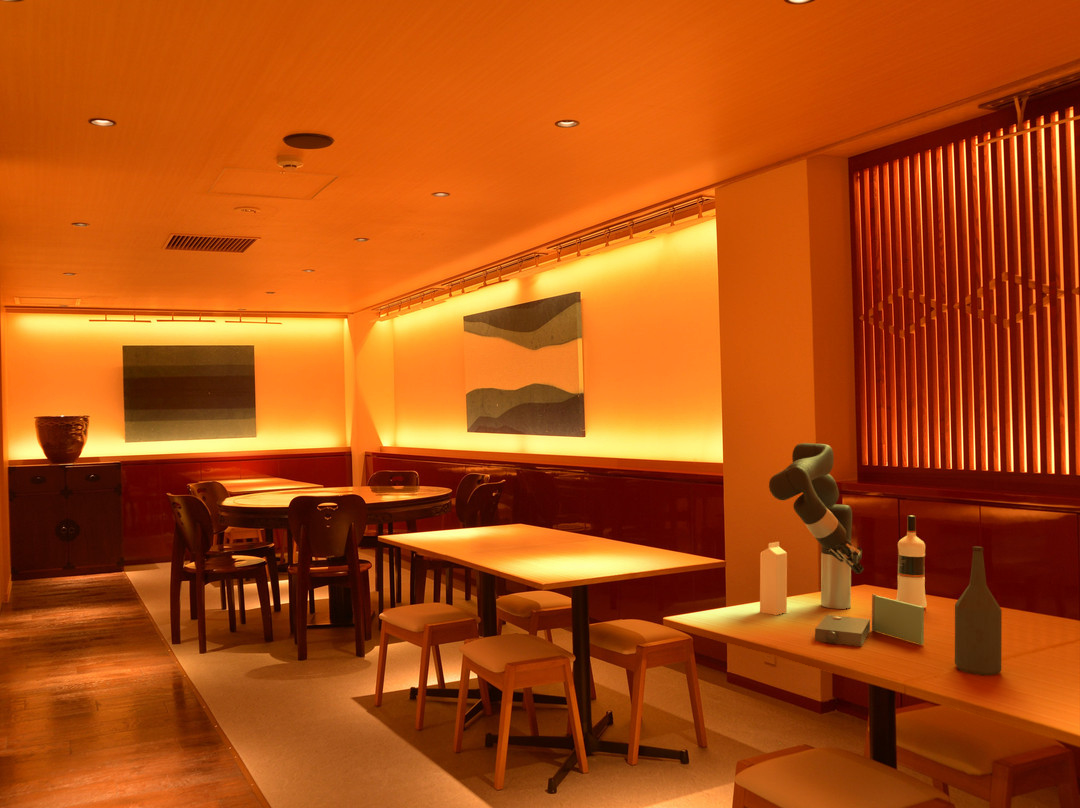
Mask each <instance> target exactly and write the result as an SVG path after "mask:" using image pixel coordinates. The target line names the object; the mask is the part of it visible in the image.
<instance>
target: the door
mask: <svg viewBox="0 0 1080 808" xmlns="http://www.w3.org/2000/svg"><path fill="white" fill-rule="evenodd" d="M924 624H925V609H924V607H921V606H917V605H913V604H909V603H905V602H901V601H897V600H896V599H892V598H889V597H884V596H879V595H877V594H875V593H873V594H872V595H871V631H872V630H874V631H873V632H878V633H880V634H883V633H884V635H888V636H890V635H891V637H894V638H897V637H898V639H900V638H901V640H904V641H907V640H908V641H907V642H910V641H911V643H914V642H915V643H914V644H917V643H918V645H922V644H923V645H924V643H925V639H924V638H925V636H924V635H925V625H924Z"/></svg>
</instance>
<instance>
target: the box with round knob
mask: <svg viewBox="0 0 1080 808" xmlns="http://www.w3.org/2000/svg"><path fill="white" fill-rule="evenodd" d="M814 630H815V631H814V640H815V642H817V641H821V642H820V643H825V642H828V643H827V644H834V643H836V644H835V645H842V644H845V645H844V646H851V645H855V646H854V647H859V646H863V645H864V643H865V641H866V640H867V638H868V636H869V634H870V632H871V619H869V618H863V617H851V616H845V615H844V616H842V615H832V614H826V615H825V616H824V617H823V618H822V620H821V621H820V622H819V623H818V625H817V626H816V627H815V629H814ZM869 631H870V632H869ZM868 633H869V634H868ZM867 635H868V636H867ZM866 637H867V638H866ZM865 639H866V640H865ZM862 644H863V645H862Z"/></svg>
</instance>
